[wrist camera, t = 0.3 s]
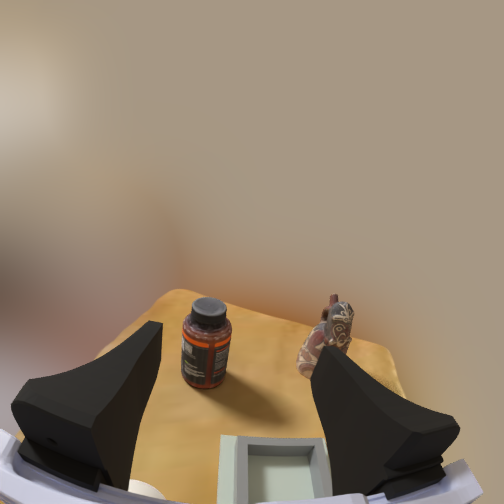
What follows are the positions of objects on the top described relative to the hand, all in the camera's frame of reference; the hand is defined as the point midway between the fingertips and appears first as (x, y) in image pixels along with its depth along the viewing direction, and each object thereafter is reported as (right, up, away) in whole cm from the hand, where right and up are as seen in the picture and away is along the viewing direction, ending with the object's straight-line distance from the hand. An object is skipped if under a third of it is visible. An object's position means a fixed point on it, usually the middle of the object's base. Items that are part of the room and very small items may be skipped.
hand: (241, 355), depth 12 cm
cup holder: (+3, -19, +10) cm, 22 cm away
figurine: (+10, -13, +29) cm, 34 cm away
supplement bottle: (-6, -12, +24) cm, 28 cm away
